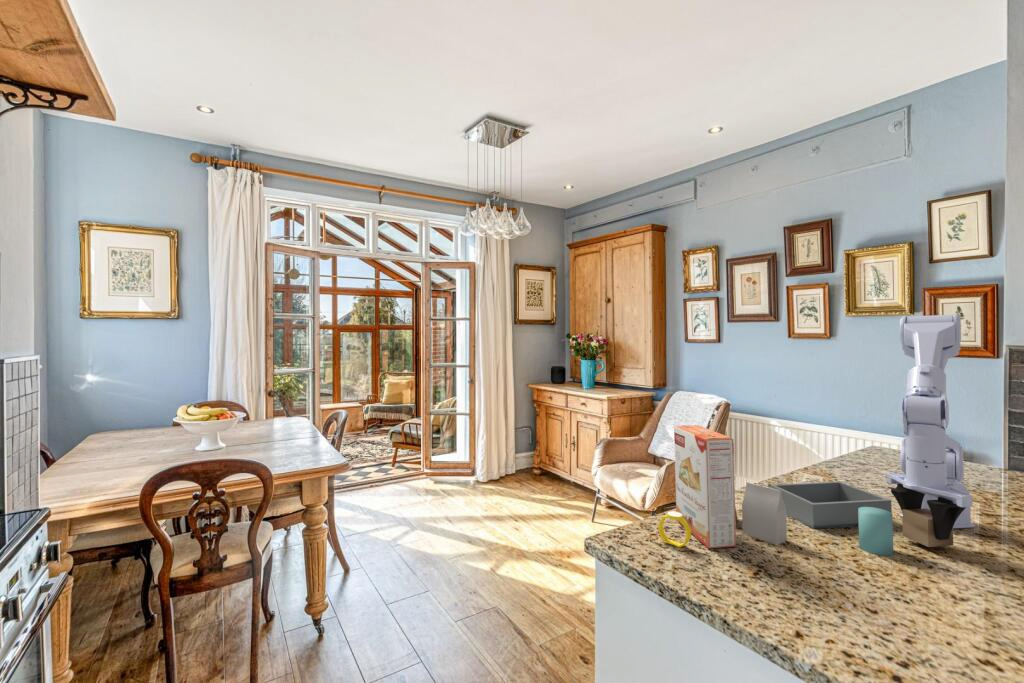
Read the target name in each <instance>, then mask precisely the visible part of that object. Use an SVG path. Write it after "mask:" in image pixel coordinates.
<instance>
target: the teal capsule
mask: <svg viewBox="0 0 1024 683" xmlns="http://www.w3.org/2000/svg"><path fill="white" fill-rule="evenodd" d="M893 516H894V515H893V513H891V512H889V511H886V510H883V509H879V508H874V507H860V508H858V519H859V526H858V547H859V548H860V550H862V551H864V552H866V553H869V554H872V555H878V556H883V557H884V556H885V557H888V556H892V555H894V526H893V525H894V522H893V519H894V517H893Z"/></svg>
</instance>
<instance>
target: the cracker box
mask: <svg viewBox="0 0 1024 683" xmlns="http://www.w3.org/2000/svg"><path fill="white" fill-rule="evenodd" d="M673 430H674V432H673V434H674V435H673V436H674V437H673V438H674V460H675V461H674V465H675V466H674V471H675V472H674V474H675V505H676V506H675V508H676V509H675V512H679V513H681V514H682V515H683V518H684V519H685V520H686V521H687V523H688V524H689V527H690V529H691V535H693V536H694V537H695V538H696V539H697V540H698V541H700V543H701V544H703V545H704V546H705V547H706V548H707V549H718V548H719V549H720V548H735V547H736V546H737V534H736V532H737V531H736V528H737V527H736V524H737V523H736V521H735V507H736V496H735V495H736V491H735V490H736V489H735V486H736V485H735V484H736V483H735V482H736V481H734V476H735V452H734V450H735V446H734V445H735V444H734V442H735V441H734V437H732V436H731V437H730V436H727V435H725V434H722V433H720V432H717V431H714V430H711V429H709V428H706V427H704V426H701V425H697V424H695V425H684V424H683V425H675V426H673ZM676 522H678V523H679V524H680V525H681V526H682V527H684V525H683V524H682V523H681V522H680V521H679V520H676Z"/></svg>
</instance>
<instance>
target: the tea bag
mask: <svg viewBox="0 0 1024 683" xmlns="http://www.w3.org/2000/svg"><path fill="white" fill-rule="evenodd" d="M745 484H746V485H745V490H744V494H743V498H742V503H741V511H742V514H741V516H742V517H741V518H742V534H743V535H746V536H749V537H751V538H754V539H757V540H760V541H764V542H766V543H770V544H772V545H775V546H778V545H780V544H783V543H784V542H787V541H788V535H787V532H788V531H787V529H788V528H787V515H786V508H785V504H784V501H783V497H782V491H781V490H777V489H773V488H770V487H768V486H763V485H760V484H757V483H751V482H746V483H745Z"/></svg>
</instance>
